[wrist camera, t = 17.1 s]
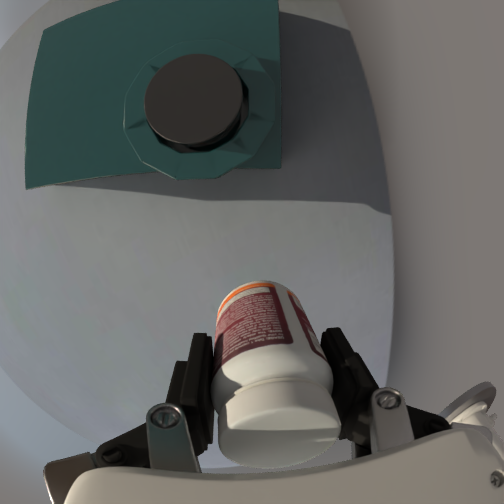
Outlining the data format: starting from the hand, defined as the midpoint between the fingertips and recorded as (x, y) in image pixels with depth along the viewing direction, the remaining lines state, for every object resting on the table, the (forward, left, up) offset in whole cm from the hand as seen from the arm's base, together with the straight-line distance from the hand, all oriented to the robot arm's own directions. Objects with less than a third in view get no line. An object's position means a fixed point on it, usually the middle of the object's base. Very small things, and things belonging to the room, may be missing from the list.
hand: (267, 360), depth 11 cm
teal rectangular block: (+7, -14, -7) cm, 17 cm away
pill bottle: (0, 0, -4) cm, 4 cm away
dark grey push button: (+3, -11, -3) cm, 12 cm away
